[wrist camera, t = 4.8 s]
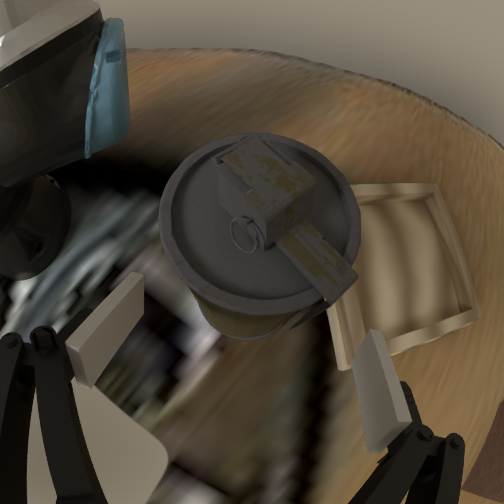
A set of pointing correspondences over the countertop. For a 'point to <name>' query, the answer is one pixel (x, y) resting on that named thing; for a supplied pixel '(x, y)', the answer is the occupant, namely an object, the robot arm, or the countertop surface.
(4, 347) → the robot arm
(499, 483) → the tissue box cover
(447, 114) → the countertop surface
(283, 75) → the countertop surface
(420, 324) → the square tray
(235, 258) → the canister
